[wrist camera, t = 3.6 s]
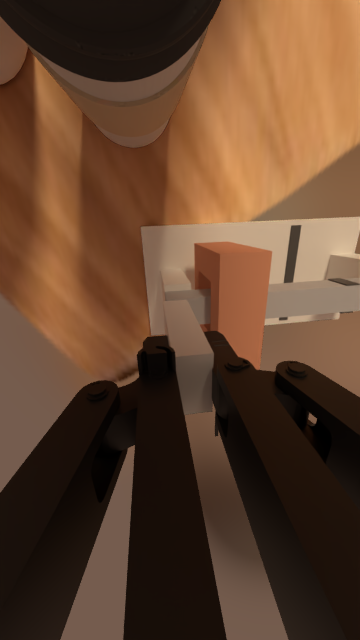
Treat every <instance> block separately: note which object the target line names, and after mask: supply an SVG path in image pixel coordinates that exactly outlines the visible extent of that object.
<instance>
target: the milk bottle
mask: <svg viewBox="0 0 360 640" xmlns="http://www.w3.org/2000/svg"><path fill="white" fill-rule="evenodd" d="M27 50H28V46H27V45H26V43H25V42H24V40H23V39H22V38H20V37H19V36H18V35H17V34H16V33H15V32H14V31H13V30H12V29H11V28H10V27H9V26H8V24H7V23H6V22H5V21H4V20H3V19H2V18H1V17H0V85H1V84H5V83H7V82H8V81H9V80H11V79H12V78H14V77H15V75H16V74H17V73H18V72H19V71H20V69H21V67H22V65H23V63H24V61H25V58H26V53H27Z"/></svg>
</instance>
